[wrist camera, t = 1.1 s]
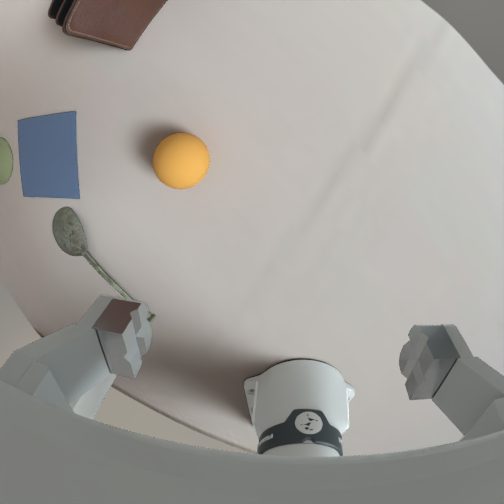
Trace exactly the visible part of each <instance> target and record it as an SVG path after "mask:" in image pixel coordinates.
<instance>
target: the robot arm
mask: <svg viewBox="0 0 504 504" xmlns="http://www.w3.org/2000/svg"><path fill="white" fill-rule="evenodd" d="M148 314H149V311H148V306H147V304H146V303H145V302H142V301H137V300H131V299H126V298H120V297H114V296H109V295H100V296H99V297H98V298H97V300H96V301H95V302H94V303H93V305H92V306H91V307H90V308H89V310H88V311H87V312H86V313H85V315H84V316H83V317H82V318H81V320H80V321H79V322H78V324H77V325H76V324H71V325H69V326H67V327H65V328H63V329H60V330H58V331H56V332H54V333H52V334H50V335H47V336H45V337H43V338H41V339H39V340H37V341H35V342H32V343H30V344H28V345H26V346H24V347H22V348H20V349H17V350H15V351H14V352H13V353H12V354H11V356H10V357H9V358H8V359H7V361H6V362H5V363H4V365H3V366H2V367H1V369H0V504H504V376H503V375H501V374H500V373H499V372H497V371H496V370H495V369H493V368H492V367H490V366H489V365H488V364H486V363H485V362H484V361H482V360H481V359H479V358H478V357H473V355H472V353H471V351H470V349H469V348H468V346H467V344H466V342H465V341H464V339H463V337H462V335H461V334H460V332H459V330H458V329H457V327H456V326H455V325H453V324H443V325H414V326H413V327H412V328H411V330H410V332H409V334H408V336H409V339H410V341H408V342H407V343H406V344H405V345H403V348H402V350H401V352H400V358H399V366H400V370H401V374H402V375H404V376H405V377H406V378H407V381H406V383H405V386H406V389H407V393H408V396H409V399H410V400H419V399H432V401H433V402H434V403H435V404H436V405H437V406H438V407H439V408H440V409H441V410H442V412H443V413H444V414H445V415H446V416H447V417H448V418H449V419H450V420H451V421H452V423H453V424H454V425H455V426H456V427H457V428H458V429H459V430H460V431H461V433H462V434H463V435H464V436H463V437H462V438H461V439H460V440H459V442H455V443H450V444H445V445H440V446H434V447H429V448H423V449H416V450H409V451H402V452H393V453H384V454H373V455H358V456H342V455H343V453H342V451H343V442H342V436H341V435H342V434H343V433H344V432H345V431H346V429H348V427H349V407H348V403H349V401H350V400H351V399H352V398H353V397H354V395H355V388H354V387H353V386H351V385H350V384H348V383H346V382H345V381H344V379H343V378H342V376H341V374H340V373H339V372H338V371H337V370H336V369H335V368H333V367H332V366H330V365H328V364H325V363H322V362H319V361H313V360H293V361H288V362H284V363H280V364H278V365H275V366H273V367H271V368H270V369H268V370H267V371H265V372H264V373H263V374H261V375H259V376H255V377H252V378H249V379H246V380H245V381H244V389H245V394H246V398H247V403H248V407H249V412H250V416H251V421H252V425H253V428H254V429H255V430H256V433H257V436H258V438H259V444H258V448H257V453H258V454H252V453H242V452H233V451H224V450H218V449H211V448H205V447H199V446H193V445H187V444H182V443H177V442H173V441H168V440H163V439H159V438H155V437H150V436H146V435H143V434H139V433H135V432H131V431H128V430H124V429H121V428H117V427H114V426H111V425H108V424H104V423H101V422H98V421H95V420H92V419H89V418H86V417H84V416H81V415H78V414H75V413H74V411H73V410H72V408H71V407H70V405H69V404H71V403H72V402H74V401H75V400H76V399H78V398H79V397H81V396H82V395H83V394H85V393H86V392H87V391H89V390H90V389H92V388H93V387H94V386H96V385H97V384H98V383H100V382H101V381H102V380H104V379H105V378H107V377H108V376H109V375H110V373H111V374H116V375H120V376H125V377H130V378H136V375H137V373H138V371H139V369H140V367H141V365H142V360H141V356H143V355H145V354H146V353H147V352H148V350H149V348H150V345H151V340H152V328H151V324H150V323H149V322H148V321H147V319H146V318H147V316H148Z"/></svg>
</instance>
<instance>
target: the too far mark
mask: <svg viewBox="0 0 504 504" xmlns="http://www.w3.org/2000/svg"><path fill="white" fill-rule="evenodd" d="M12 169H13V156H12V152H11V149H10V146H9V144H8V143H7V141H6V140H5V139H4V138H2V137H0V184H4V183H6V182H7V181H8V180H9V178H10V176H11V174H12Z"/></svg>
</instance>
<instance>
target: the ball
mask: <svg viewBox="0 0 504 504" xmlns="http://www.w3.org/2000/svg"><path fill="white" fill-rule="evenodd" d="M209 163H210V157H209V152H208V149H207V147H206V145H205V144H204V143H203V141H202V140H200V139H199V138H198V137H196V136H194V135H192V134H189V133H175V134H172V135H170V136H168V137H166V138H165V139H163V140H162V141H161V142H160V144H159V145H158V146H157V148H156V150H155V152H154V156H153V168H154V171H155V173H156V175H157V177H158V178H159V180H160V181H161V182H162V183H164V184H165V185H167V186H169V187H171V188H175V189H186V188H190V187H192V186H194V185H196V184H197V183H199V182H200V181H201V180H202V179H203V178H204V176H205V175H206V173H207V171H208V168H209Z"/></svg>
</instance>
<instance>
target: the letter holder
mask: <svg viewBox="0 0 504 504" xmlns="http://www.w3.org/2000/svg"><path fill="white" fill-rule="evenodd" d="M166 1H167V0H53V1H52V3H51V5H50V8H49V12H48V15H49V17H50V18H53V19H56V24H57V25H59V26H63V27H62V29H63V32H64V33H65V34H66V35H69V36H73V37H78V38H83V39H88V40H92V41H96V42H99V43H103V44H107V45H111V46H115V47H119V48H122V49H125V50H131V49H132V48H133V46H134V45H135V43H136V42H137V40H138V39H139V37H140V36H141V34H142V33H143V31H144V30H145V29H146V27H147V26H148V24H149V23H150V22H151V20H152V19H153V18H154V16H155V15H156V14H157V13H158V11H159V10H160V9H161V8H162V6H163V5H164V4H165V3H166Z"/></svg>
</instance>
